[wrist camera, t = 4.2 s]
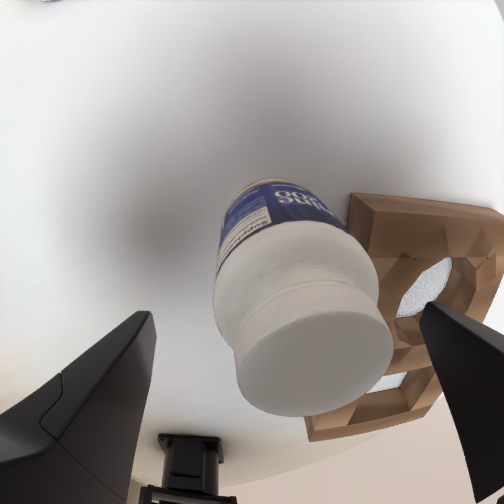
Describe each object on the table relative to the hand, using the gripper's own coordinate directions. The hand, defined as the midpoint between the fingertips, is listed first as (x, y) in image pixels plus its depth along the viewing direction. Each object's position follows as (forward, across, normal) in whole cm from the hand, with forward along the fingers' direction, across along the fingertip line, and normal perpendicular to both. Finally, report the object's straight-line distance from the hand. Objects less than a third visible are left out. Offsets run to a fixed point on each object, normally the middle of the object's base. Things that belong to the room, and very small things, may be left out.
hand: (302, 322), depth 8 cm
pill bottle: (+8, 0, 0) cm, 8 cm away
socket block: (+8, -10, +8) cm, 15 cm away
